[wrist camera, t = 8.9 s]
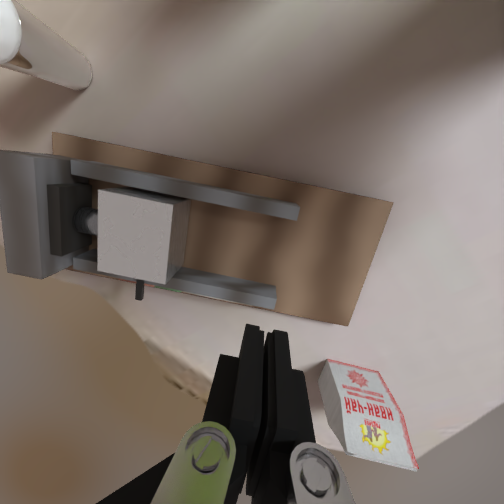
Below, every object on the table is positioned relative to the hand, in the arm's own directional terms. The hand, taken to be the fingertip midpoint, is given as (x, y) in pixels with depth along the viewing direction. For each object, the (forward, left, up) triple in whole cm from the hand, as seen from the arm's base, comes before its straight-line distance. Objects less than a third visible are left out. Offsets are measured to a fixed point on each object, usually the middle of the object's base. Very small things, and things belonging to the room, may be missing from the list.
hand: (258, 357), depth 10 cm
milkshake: (-13, -21, -18) cm, 30 cm away
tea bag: (+15, +14, -18) cm, 28 cm away
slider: (+2, -12, -16) cm, 20 cm away
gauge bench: (0, -5, -18) cm, 19 cm away
